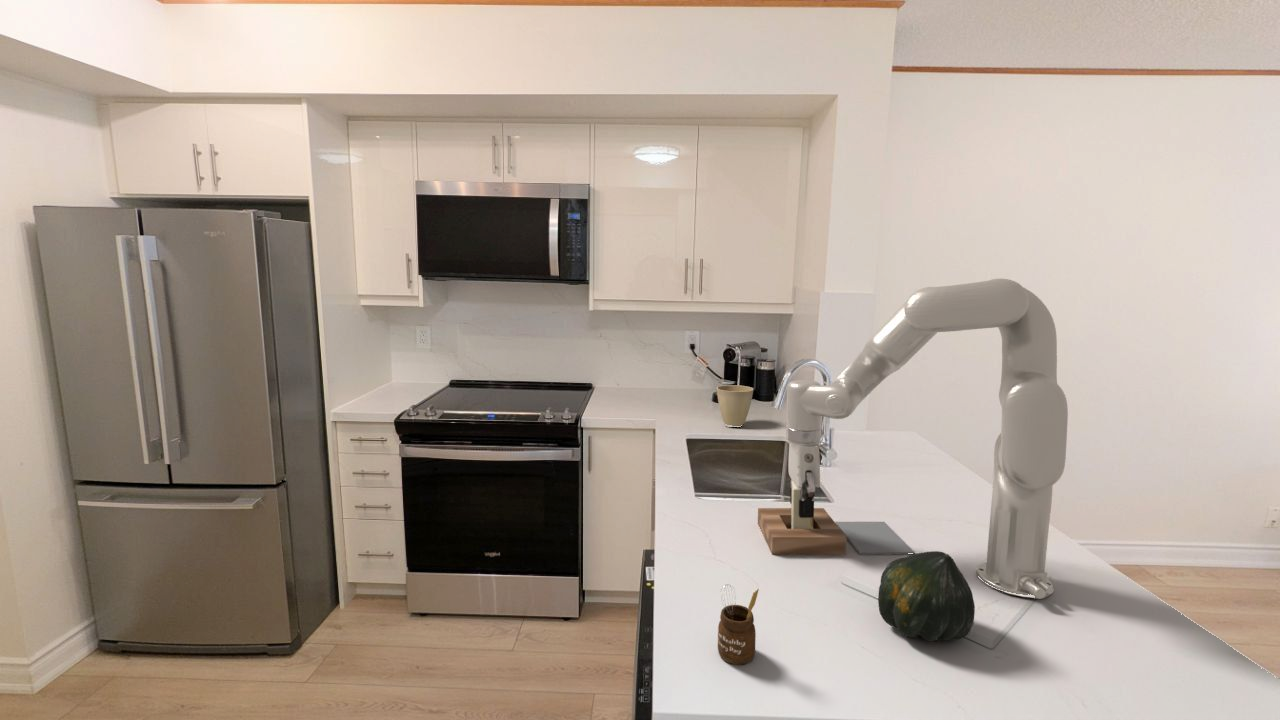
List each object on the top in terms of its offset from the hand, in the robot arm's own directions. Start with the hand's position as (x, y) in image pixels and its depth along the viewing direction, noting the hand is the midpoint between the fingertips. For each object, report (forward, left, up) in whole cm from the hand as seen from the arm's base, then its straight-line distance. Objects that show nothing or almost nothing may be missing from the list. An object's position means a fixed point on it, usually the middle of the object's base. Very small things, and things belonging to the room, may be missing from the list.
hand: (801, 509), depth 131 cm
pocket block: (0, 0, -7) cm, 7 cm away
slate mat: (0, -17, -7) cm, 18 cm away
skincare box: (0, 0, -7) cm, 7 cm away
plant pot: (+104, -1, -7) cm, 104 cm away
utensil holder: (-41, +21, -7) cm, 47 cm away
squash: (-34, -12, -7) cm, 37 cm away
